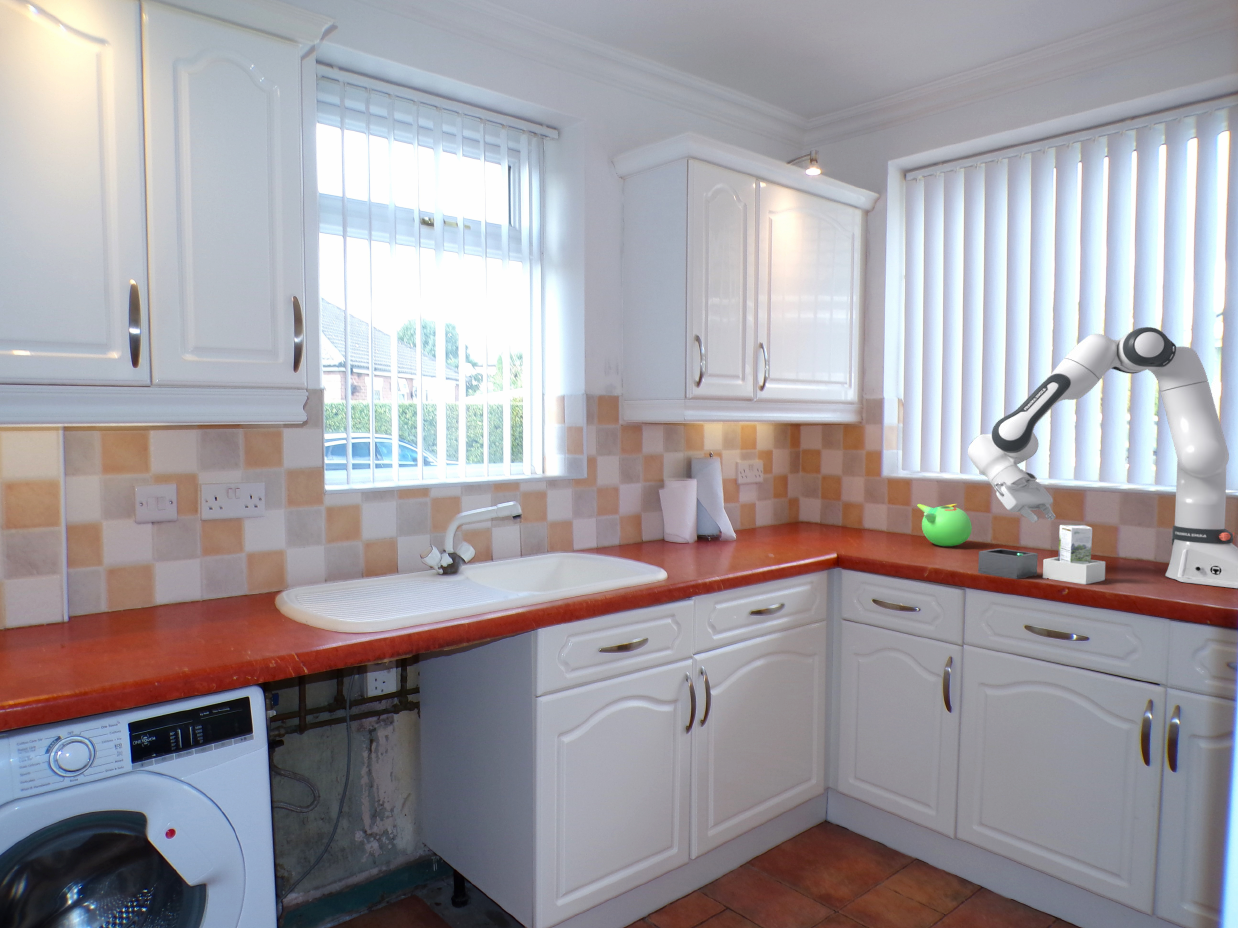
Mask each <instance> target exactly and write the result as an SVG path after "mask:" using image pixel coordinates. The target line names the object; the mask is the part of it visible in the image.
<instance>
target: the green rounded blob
mask: <svg viewBox="0 0 1238 928" xmlns="http://www.w3.org/2000/svg"><path fill="white" fill-rule="evenodd" d="M957 505H958V503H953V504H946V505H938V506H937V507H932V506H931V507H930V506H928V505H925V504H921V503H918V504H917V508H919V509H920V510H921V511H922V512H923V517H922V520H921V529H922V532H923V535H924V537H925V538H926V539H927V540H928V541H929V542H931V543H933V544H934V545H936V546H941V547H955V546H959V545H962V544H963V543H966V541H967V540H968V539H969V538H970V536H971V534H972V529H973V526H972V522H971V521H972V520H971V518H970V517H969V515H968V514H967V513H966V512H965V511H964V510H962V509H961V508H958V507H956V506H957Z"/></svg>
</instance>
